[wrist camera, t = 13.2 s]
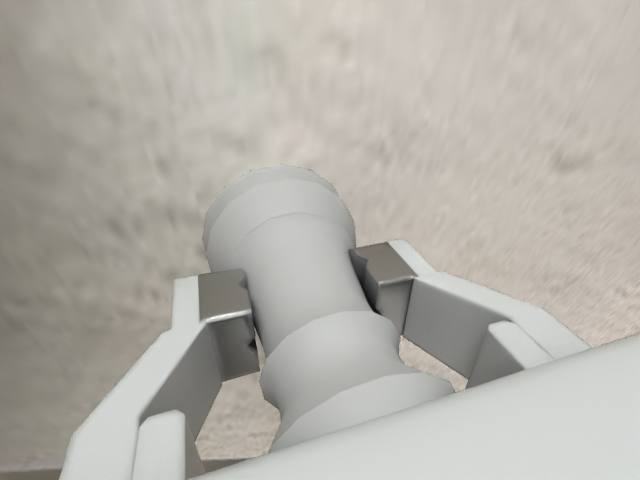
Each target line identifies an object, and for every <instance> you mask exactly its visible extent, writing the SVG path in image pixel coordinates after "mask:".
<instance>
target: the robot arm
mask: <svg viewBox="0 0 640 480" xmlns="http://www.w3.org/2000/svg"><path fill="white" fill-rule="evenodd" d="M348 253H349V256H350V259H351V262H352V265H353V268H354V270H355V273H356V275H357V278H358V280H359V283H360V285H361V287H362V290H363V292H364V295H365V297H366V300H367V302H368V305H369V306H370V308H371V309H372V311H373V312H374V313H376V314H379V315H381V316H383V317H385V318H387V319H389V320H391V321H392V323H393V325H394V326H395V328H396V330H397V331H398V333H399V334H400V335H403V337H404V338H406V339H407V340H409V341H410V342H412V343H413V344H415V345H416V346H418V347H419V348H421V349H422V350H424V351H425V352H427V353H429V354H430V355H432V356H433V357H435V358H436V359H438V360H439V361H441V362H442V363H444V364H445V365H447V366H448V367H450V368H451V369H453V370H454V371H456V372H457V373H459V374H461V375H462V376H464V377H465V378H467V379H468V382H467V385H466V388H465V390H461V391H458V392H455V393H452V394H449V395H446V396H443V397H440V398H437V399H434V400H431V401H428V402H425V403H422V404H418V405H415V406H412V407H409V408H406V409H403V410H400V411H397V412H394V413H391V414H388V415H385V416H381V417H378V418H375V419H372V420H369V421H366V422H363V423H360V424H357V425H354V426H351V427H348V428H344V429H341V430H338V431H335V432H332V433H329V434H326V435H323V436H320V437H317V438H314V439H310V440H307V441H304V442H301V443H298V444H295V445H292V446H289V447H286V448H283V449H280V450H277V451H273V452H270V453H267V454H264V455H261V456H258V457H255V458H252V459H249V460H246V461H243V462H240V463H236V464H233V465H231V466H227V467H224V468H221V469H218V470H215V471H212V472H209V473H206V474H205V471H204V468H203V465H202V462H201V459H200V456H199V453H198V451H197V448H196V445H195V440H196V438H197V436H198V434H199V432H200V430H201V428H202V426H203V424H204V422H205V419H206V417H207V415H208V413H209V411H210V409H211V407H212V405H213V403H214V401H215V398H216V396H217V394H218V392H219V390H220V388H221V386H222V382H224V381H227V380H231V379H234V378H238V377H241V376H245V375H248V374H251V373H255V372H258V371H260V368H259V360H258V352H257V347H256V342H255V330H254V323H253V317H252V310H251V306H250V301H249V296H248V291H247V290H246V284H245V277H244V273H243V269H242V268H238V269H232V270H226V271H219V272H213V273H207V274H200V275H199V276H198V275H194V276H189V277H183V278H177V279H175V281H174V283H173V298H172V315H171V330H167V331H163V332H162V333H161V334H160V336H159V337H158V338H157V339H156V340H155V341H154V342H153V344H152V345H151V346H150V347H149V348H148V349H147V350H146V352H145V353H144V354H143V355H142V356H141V357H140V358H139V359H138V361H137V362H136V363H135V364H134V365H133V366H132V367H131V369H130V370H129V371H128V372H127V373H126V374H125V375H124V377H123V378H122V379H121V380H120V381H119V382H118V383H117V384H116V386H115V387H114V388H113V389H112V390H111V391H110V392H109V394H108V395H107V396H106V397H105V398H104V399H103V400H102V401H101V403H100V404H99V405H98V406H97V407H96V408H95V409H94V411H93V412H92V413H91V414H90V415H89V416H88V417H87V419H86V420H85V421H84V422H83V423H82V424H81V425H80V426H79V428H78V429H77V430H76V431H75V432H74V433H73V434H72V437H71V440H70V444H69V447H68V451H67V454H66V458H65V461H64V465H63V468H62V472H61V475H60V479H59V480H640V333H637V334H634V335H631V336H628V337H625V338H622V339H618V340H615V341H612V342H609V343H606V344H603V345H600V346H597V347H594V348H592V347H591V346H590V345H589V344H587V343H586V342H585V341H584V340H583V339H581V338H580V337H579V336H578V335H576V334H575V333H574V332H573V331H571V330H570V329H569V328H568V327H566V326H565V325H564V324H563V323H562V322H560V321H559V320H558V319H557V318H555V317H554V316H553V315H552V314H550V313H549V312H548V311H547V310H545V309H544V308H542V307H539V306H536V305H534V304H531V303H528V302H525V301H523V300H520V299H517V298H515V297H512V296H509V295H506V294H504V293H501V292H498V291H496V290H493V289H490V288H488V287H485V286H482V285H479V284H477V283H474V282H471V281H469V280H466V279H463V278H460V277H458V276H455V275H452V274H450V273H447V272H438V271H437V270H436V269H435V268H434V267H433V266H432V265H431V264H430V263H429V262H428V261H426V260H425V259H424V258H423V257H422V256H421V255H420V254H419V253H418V252H417V251H416V250H415V249H414V248H413V247H412V246H411V245H410V244H409V243H408V242H407V241H406V240H404V239H402V238H401V239H396V240H392V241H387V242H384V243H380V244H374V245H369V246H364V247H358V248H353V249H349V250H348Z"/></svg>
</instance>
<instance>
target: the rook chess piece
mask: <svg viewBox="0 0 640 480" xmlns="http://www.w3.org/2000/svg"><path fill="white" fill-rule="evenodd" d="M202 240H203V243H204V246H205V249H206V252H207V254H206V257H207V260H208V263H209V266H210V269H211V272H212V273H213V272H219V271H226V270H232V269H238V268H242V269H243V273H244V277H245V284H246V290H247V291H248V296H249V301H250V306H251V310H252V317H253V323H254V326H255V329H256V331H257V334H258V336H259V338H260V341H261V343H262V346H263V348H264V352H265V357H266V360H265V364H264V367H263V370H262V373H261V377H260V380H259V383H260V386H261V389H262V393H263V396H264V399H265V400H266V401H268V402H269V403H270V404H272V405H273V406H275V407H276V408H277V409H279V411H280V418H281V423H280V426H279V428H278V430H277V433H276V435H275V438H274V440H273V442H272V445H271V447H270V449H269V452H268V453H270V452H273V451H277V450H280V449H283V448H286V447H289V446H292V445H295V444H298V443H301V442H304V441H307V440H310V439H314V438H317V437H320V436H323V435H326V434H329V433H332V432H335V431H338V430H341V429H344V428H348V427H351V426H354V425H357V424H360V423H363V422H366V421H369V420H372V419H375V418H378V417H381V416H385V415H388V414H391V413H394V412H397V411H400V410H403V409H406V408H409V407H412V406H415V405H418V404H422V403H425V402H428V401H431V400H434V399H437V398H440V397H443V396H446V395H449V394H452V393H455V390H454V389H453V387H452V385H451V383H450V381H447V380H445V379H442V378H439V377H437V376H434V375H432V374H429V373H426V372H424V371H421V370H418V369H416V368H413V367H410V366H408V365H405V364H404V363H403V361H402V360H401V359H400V357H399V343H400V334H399V333H398V331H397V330H396V328H395V326H394V325H393V323H392V321H391V320H389V319H387V318H385V317H383V316H381V315H379V314H376V313H374V312H373V311H372V309H371V308H370V306H369V305H368V302H367V300H366V297H365V295H364V292H363V290H362V287H361V285H360V283H359V280H358V278H357V275H356V273H355V270H354V268H353V265H352V262H351V259H350V256H349V253H348V250H349V249H353V248H356V238H355V225H354V221H353V219H352V217H351V215H350V213H349V211H348V209H347V208H346V206H345V204H344V202H343V200H342V199H341V198H340V197H339V195H338V193H337V191H336V189H335V188H334V186H333V185H332V184H331V183H330V182H328V181H327V180H325V179H324V178H322V177H321V176H320V175H318V174H317V173H315V172H314V171H312V170H310V169H305V168H300V167H295V166H289V165H284V164H280V165H275V166H270V167H265V168H260V169H255V170H250V171H249V172H247V173H246V174H244V175H243V176H241V177H240V178H238V179H237V180H235V181H233V182H232V183H230V184H229V185H227V186H226V187H224V188H223V189H222V191H221V192H220V194H219V195H218V197H217V198H216V200H215V201H214V203H213V204H212V206H211V207H210V208H209V210H208V211H207V213H206V220H205V226H204V233H203V239H202Z"/></svg>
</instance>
